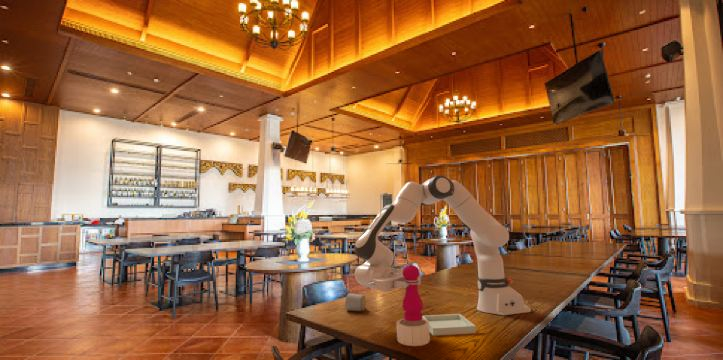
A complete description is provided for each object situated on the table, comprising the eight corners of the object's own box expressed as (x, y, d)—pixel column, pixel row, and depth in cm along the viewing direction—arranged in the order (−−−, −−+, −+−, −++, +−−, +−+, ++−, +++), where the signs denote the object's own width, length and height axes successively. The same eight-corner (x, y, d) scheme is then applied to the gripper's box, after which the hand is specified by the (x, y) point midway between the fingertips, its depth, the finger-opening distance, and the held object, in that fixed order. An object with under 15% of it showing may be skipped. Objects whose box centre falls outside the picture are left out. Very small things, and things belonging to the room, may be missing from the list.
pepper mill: (408, 323, 116) (405, 262, 118) (399, 317, 122) (397, 260, 124) (427, 320, 118) (424, 261, 120) (418, 314, 124) (415, 258, 126)
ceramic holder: (424, 333, 125) (423, 316, 126) (433, 344, 114) (432, 326, 115) (395, 335, 124) (394, 318, 125) (400, 346, 113) (400, 328, 114)
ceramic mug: (362, 313, 154) (361, 295, 155) (345, 312, 156) (344, 295, 157) (368, 307, 164) (368, 291, 165) (352, 306, 167) (352, 290, 168)
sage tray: (460, 320, 140) (459, 313, 140) (476, 333, 124) (475, 325, 124) (421, 322, 139) (421, 315, 139) (433, 335, 123) (432, 328, 123)
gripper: (365, 274, 125) (392, 278, 114) (403, 267, 138) (431, 270, 127) (366, 292, 124) (393, 298, 114) (404, 283, 137) (432, 287, 127)
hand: (413, 283), depth 121 cm, fingers closed on pepper mill, 5 cm apart
